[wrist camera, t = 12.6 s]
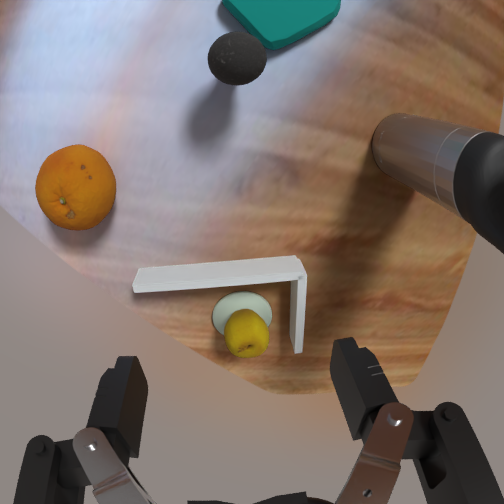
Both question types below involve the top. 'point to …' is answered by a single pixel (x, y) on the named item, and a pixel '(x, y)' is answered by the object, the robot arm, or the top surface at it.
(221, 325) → the pad
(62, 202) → the fruit
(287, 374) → the top surface
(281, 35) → the spray bottle
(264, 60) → the light bulb
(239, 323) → the apple
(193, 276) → the grey corner wall
